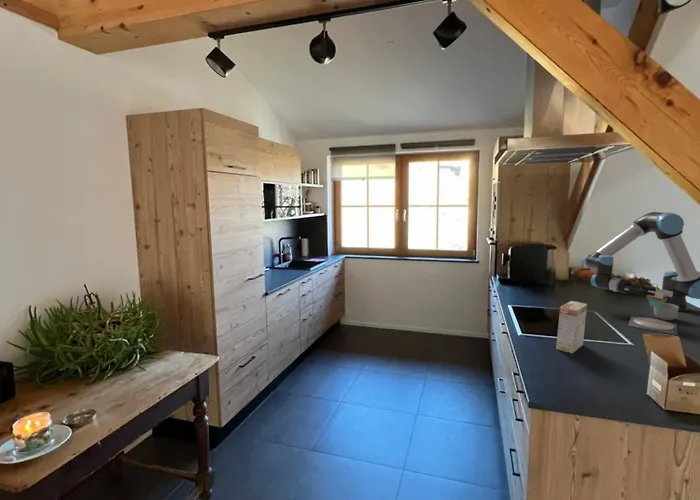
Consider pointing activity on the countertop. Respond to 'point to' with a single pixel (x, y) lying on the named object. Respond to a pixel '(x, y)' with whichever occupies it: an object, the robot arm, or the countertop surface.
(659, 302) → the cupcake
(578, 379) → the countertop surface
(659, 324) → the dish
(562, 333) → the coffeecake box
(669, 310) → the teacup
